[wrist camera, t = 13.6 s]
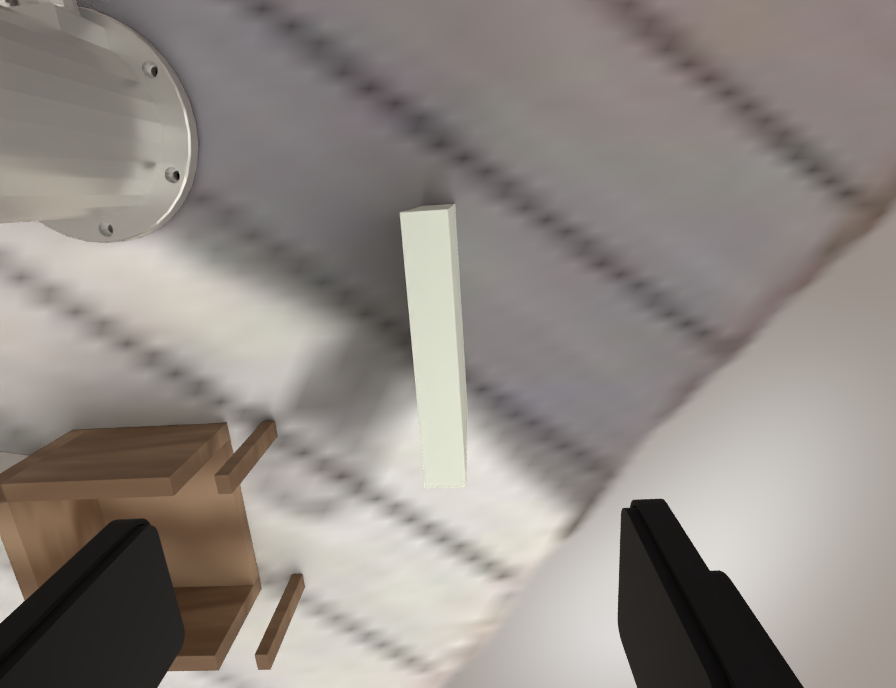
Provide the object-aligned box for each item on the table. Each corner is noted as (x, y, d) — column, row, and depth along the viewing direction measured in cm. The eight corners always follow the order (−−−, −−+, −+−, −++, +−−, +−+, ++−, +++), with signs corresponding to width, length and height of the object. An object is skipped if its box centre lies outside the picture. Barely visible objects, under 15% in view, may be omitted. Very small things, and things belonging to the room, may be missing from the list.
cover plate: (421, 206, 30) (399, 212, 21) (455, 203, 30) (448, 209, 21) (437, 405, 34) (424, 488, 25) (467, 403, 34) (465, 486, 24)
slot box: (72, 429, 36) (-19, 484, 29) (274, 420, 35) (228, 474, 28) (122, 591, 40) (52, 673, 33) (304, 587, 39) (270, 669, 32)
